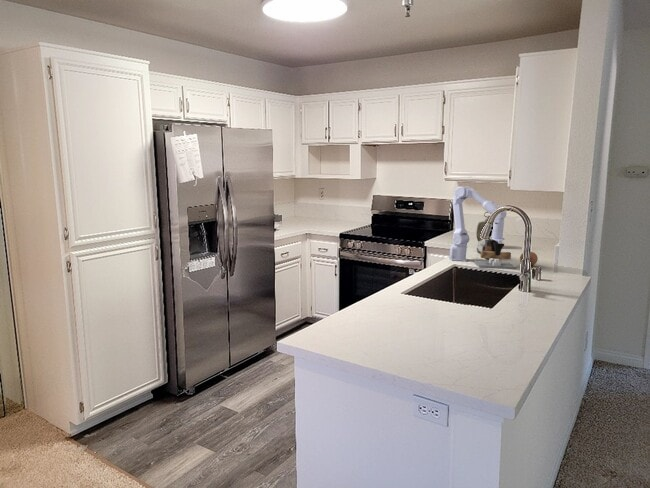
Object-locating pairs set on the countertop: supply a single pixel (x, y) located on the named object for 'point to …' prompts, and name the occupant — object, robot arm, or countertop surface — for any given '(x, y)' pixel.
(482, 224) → the tabletop clock
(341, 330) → the countertop surface
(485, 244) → the gun
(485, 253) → the bar
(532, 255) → the onion
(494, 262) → the stand
